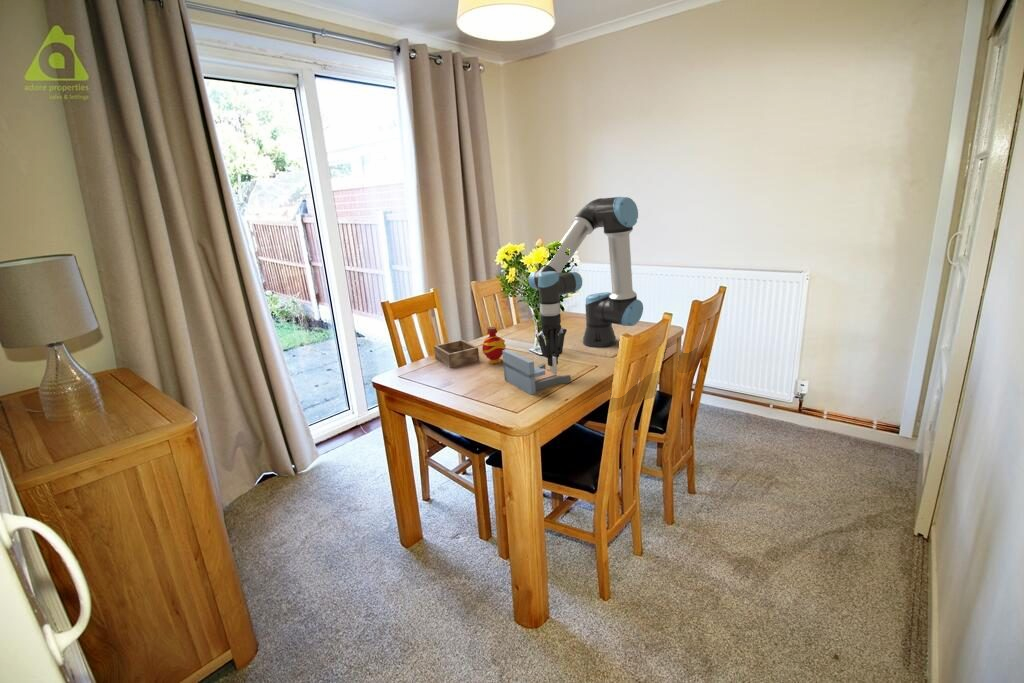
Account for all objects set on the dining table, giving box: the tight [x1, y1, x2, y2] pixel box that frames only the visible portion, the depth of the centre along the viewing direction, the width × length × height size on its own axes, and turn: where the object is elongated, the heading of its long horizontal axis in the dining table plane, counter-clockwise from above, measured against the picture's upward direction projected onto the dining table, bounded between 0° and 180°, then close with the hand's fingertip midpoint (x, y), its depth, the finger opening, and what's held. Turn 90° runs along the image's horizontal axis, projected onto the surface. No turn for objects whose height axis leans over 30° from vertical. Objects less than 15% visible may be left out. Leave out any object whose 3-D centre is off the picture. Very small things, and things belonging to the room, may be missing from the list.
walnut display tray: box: [433, 339, 480, 369], centre depth 212 cm, size 14×17×6 cm
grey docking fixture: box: [502, 348, 572, 396], centre depth 179 cm, size 18×19×12 cm
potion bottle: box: [482, 326, 507, 364], centre depth 205 cm, size 10×10×15 cm
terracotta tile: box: [535, 368, 558, 382], centre depth 180 cm, size 12×9×3 cm
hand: (553, 372), depth 184 cm, fingers closed
